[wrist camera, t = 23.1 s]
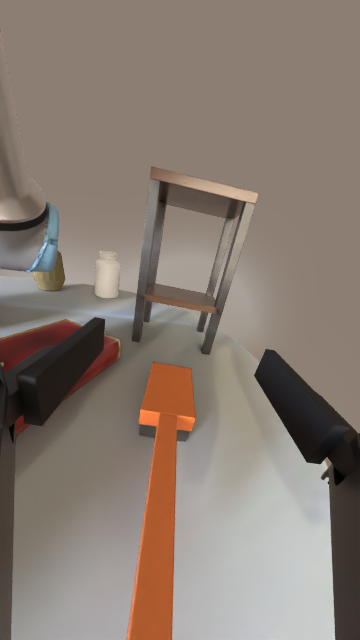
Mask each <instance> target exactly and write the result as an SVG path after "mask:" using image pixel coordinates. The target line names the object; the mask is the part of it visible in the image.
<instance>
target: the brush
mask: <svg viewBox="0 0 360 640" xmlns="http://www.w3.org/2000/svg"><path fill="white" fill-rule="evenodd" d="M195 419H196V417H195V406H194V395H193V384H192V373H191V368H185V367H179V366H173V365H167V364H161V363H156V362H153V364H152V368H151V372H150V376H149V380H148V383H147V387H146V391H145V395H144V399H143V403H142V406H141V410H140V417H139V424H140V430H139V435H142V436H149V437H155V442H154V449H153V456H152V463H151V470H150V477H149V484H148V491H147V498H146V505H145V512H144V519H143V526H142V533H141V540H140V548H139V555H138V562H137V569H136V576H135V583H134V590H133V597H132V604H131V611H130V618H129V625H128V632H127V639H126V640H172V617H173V575H174V532H175V489H176V446H177V441H184V442H185V441H186V438H187V435H188V432H189V431H192V428H193V425H194V422H195Z"/></svg>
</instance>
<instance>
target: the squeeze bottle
mask: <svg viewBox="0 0 360 640" xmlns="http://www.w3.org/2000/svg"><path fill="white" fill-rule="evenodd" d="M34 279H35V280H36V282H37V284H38V286H39V288H40V289H42V290H47V291H58V290H61V289H62V287H63V284H64V281H65V275H64V269H63V262H62V256H61V253H60V252H59V251H57V259H56V265H55V267H54V269H53V270H52V271H50V272H34Z"/></svg>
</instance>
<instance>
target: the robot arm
mask: <svg viewBox="0 0 360 640" xmlns="http://www.w3.org/2000/svg"><path fill="white" fill-rule="evenodd" d="M58 216H59V215H58V210H57V208H56V207H55V206H53V205H51V204H49V203H47V202H46V199H45V196H44V193H43V191H42V190H41V188H40V187H39V186H38V184H37V183H36V182H35V181H34V180H33V179H32V178H30V177H29V176H28V171H27V166H26V161H25V156H24V150H23V145H22V141H21V135H20V130H19V124H18V119H17V114H16V109H15V104H14V99H13V93H12V88H11V83H10V78H9V73H8V68H7V62H6V57H5V52H4V47H3V42H2V36H1V31H0V269H7V270H17V271H25V272H32V271H34V272H50V271H52V270H53V269H54V267H55V265H56V259H57V248H58V245H57V242H58V232H59V217H58ZM104 329H105V319H101V318H96V317H95V318H93V319H92V320H90V321H89V322H88V323H86V324H85V325H84V326H82V327H81V328H80V329H78V330H77V331H75V332H74V333H73V334H71V335H70V336H69V337H67V338H66V339H65V340H63V341H62V342H60V343H59V344H58V345H56V346H50V345H49V346H47V347H44V348H42V349H39V350H38V351H36V352H35V353H33V354H32V355H31V356H29V357H27V358H26V359H24V361H21V362H20V363H18V364H17V365H15V366H14V367H12V368H11V369H9V370H8V371H6V372H5V373H4V370H3V366H2V364H1V363H0V640H11V613H12V571H13V528H14V485H15V443H16V425H15V422H16V421H17V420H18V419H19V418H20V417H21V416H22V415H23V418H24V423H25V424H32V425H39V426H42V425H43V424H44V423H45V421H46V420H47V419H48V418H49V417H50V415H51V414H52V413H53V412H54V410H55V409H56V408H57V407H58V405H59V404H60V403H61V402H62V400H63V399H64V398H65V397H66V396H67V394H68V393H69V392H70V391H71V389H72V388H73V387H74V386H75V384H76V383H77V382H78V381H79V379H80V378H81V377H82V376H83V374H84V373H85V372H86V371H87V370H88V368H89V367H90V366H91V365H92V363H93V362H94V361H95V360H96V358H97V357H98V356H99V355H100V353H101V352H102V351H103V350H104ZM254 376H255V378H256V380H257V381H258V383H259V385H260V386H261V388H262V389H263V391H264V393H265V394H266V396H267V398H268V399H269V401H270V403H271V404H272V406H273V408H274V409H275V411H276V413H277V414H278V416H279V417H280V419H281V421H282V422H283V424H284V426H285V427H286V429H287V431H288V432H289V434H290V436H291V437H292V439H293V440H294V442H295V444H296V445H297V447H298V449H299V450H300V452H301V454H302V455H303V457H304V459H305V460H306V462H308V463H315V464H321V463H322V462H323V461H324V459H325V458H326V457H328V459H329V460H330V461H331V462H332V464H331V465H330V466H329V468H328V469H327V470H326V471H325V472H324V473H323V475H322V477H321V479H322V480H324V479H325V478H326V477H329V481H328V484H329V493H330V518H331V543H332V568H333V593H334V618H335V640H360V433H359V434H358V433H357V432H356V431H355V430H354V429H353V428H352V427H351V426H350V425H349V424H348V423H347V422H346V421H345V420H344V419H343V418H342V417H341V416H340V415H339V414H338V413H337V411H335V410H334V409H333V408H332V407H331V405H329V404H328V402H327V401H326V400H325V399H324V398H323V397H322V396H320V395H319V394H318V393H316V392H315V391H314V390H313V389H312V388H311V387H310V386H309V385H308V384H307V383H306V382H305V381H304V380H303V379H302V378H301V377H300V376H299V375H298V374H297V373H296V372H295V371H294V370H293V369H292V368H291V367H290V366H289V365H288V364H287V363H286V362H285V361H284V360H283V359H282V358H281V356H280V355H279V354H277V353H276V351H274V350H268V349H266V350H265V353H264V355H263V357H262V359H261V361H260V364H259V366H258V368H257V370H256V373H255V375H254Z"/></svg>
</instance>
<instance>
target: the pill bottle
mask: <svg viewBox="0 0 360 640" xmlns="http://www.w3.org/2000/svg"><path fill="white" fill-rule="evenodd" d="M99 255H101V256H100V257H101V258H100V259H97V260H96V262H95V287H94V292H95V295H96V296H98V297H101V298H117V297H118V293H119V279H120V264H119V263H118V262H117V261H116V260H117V259H116V258H117V254H116V253H114V252H109V251H103V250H100V253H99Z"/></svg>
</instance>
